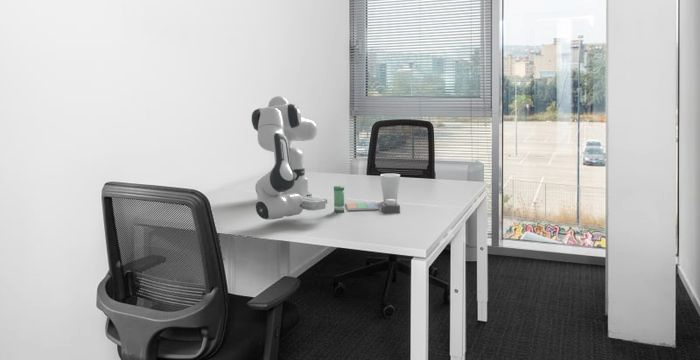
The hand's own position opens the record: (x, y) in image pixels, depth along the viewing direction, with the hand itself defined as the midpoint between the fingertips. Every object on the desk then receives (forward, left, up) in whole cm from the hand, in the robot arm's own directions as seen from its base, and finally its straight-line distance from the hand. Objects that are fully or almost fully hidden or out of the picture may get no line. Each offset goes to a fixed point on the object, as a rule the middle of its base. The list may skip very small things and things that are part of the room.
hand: (318, 199), depth 228 cm
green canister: (-8, +9, -7) cm, 14 cm away
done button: (-7, +32, -6) cm, 33 cm away
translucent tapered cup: (-27, +35, -7) cm, 45 cm away
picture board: (-16, +20, -7) cm, 27 cm away
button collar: (-7, +32, -7) cm, 33 cm away
